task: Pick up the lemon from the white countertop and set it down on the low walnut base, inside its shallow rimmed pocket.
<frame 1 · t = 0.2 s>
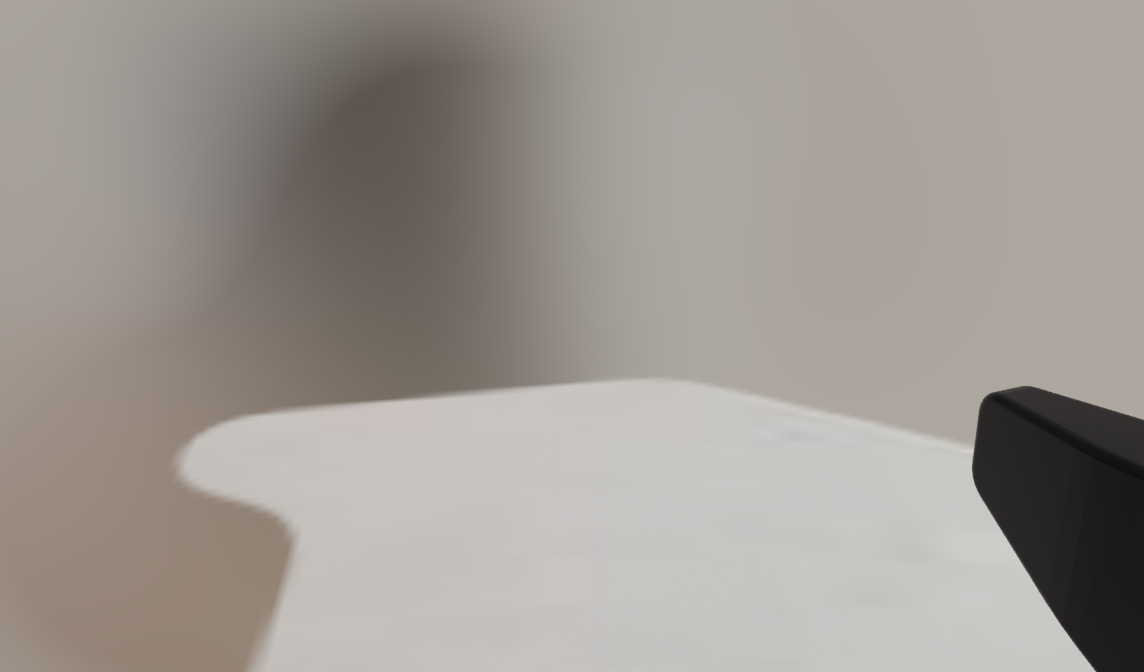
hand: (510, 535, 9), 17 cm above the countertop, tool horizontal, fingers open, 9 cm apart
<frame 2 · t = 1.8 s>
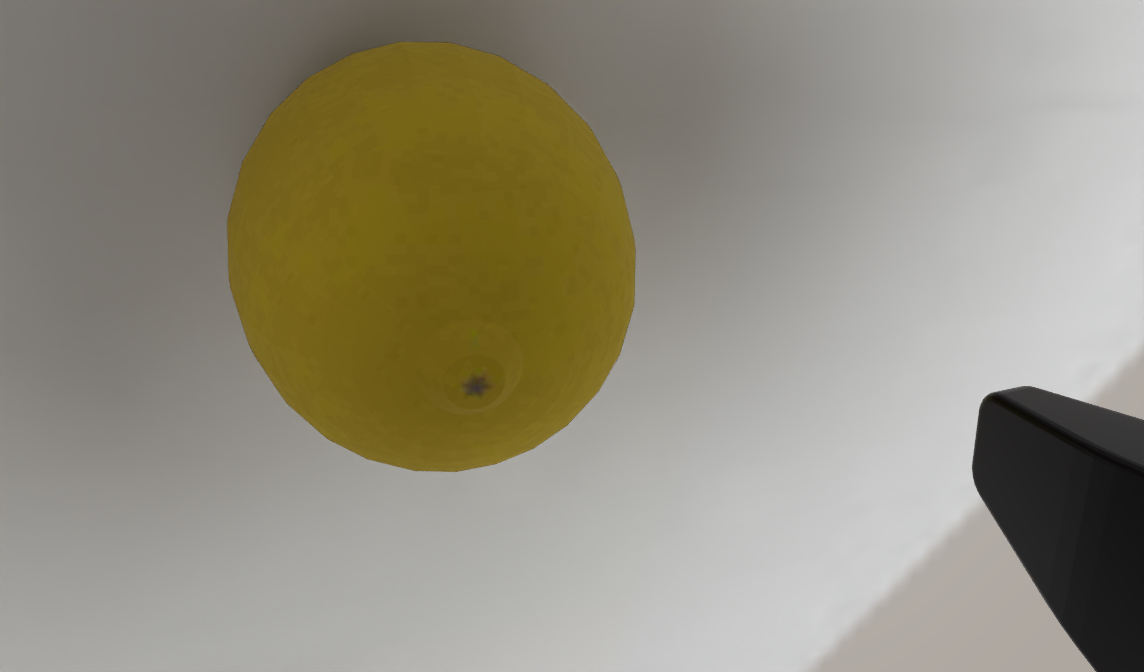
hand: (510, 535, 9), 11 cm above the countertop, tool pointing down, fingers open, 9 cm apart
lemon: (406, 160, 18), on the countertop
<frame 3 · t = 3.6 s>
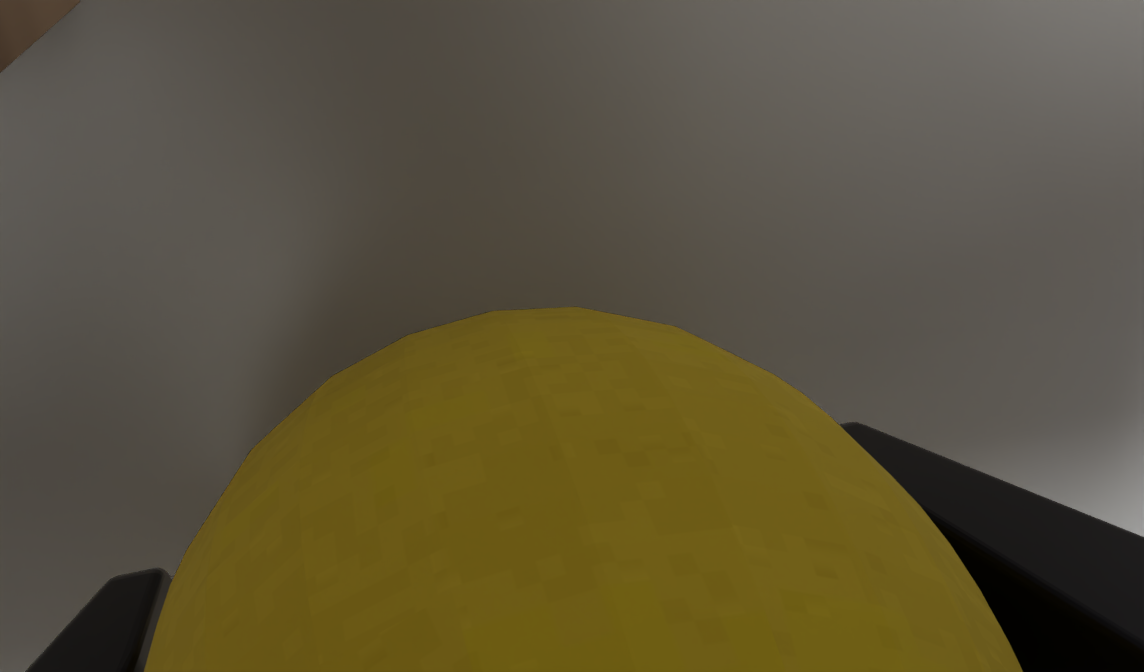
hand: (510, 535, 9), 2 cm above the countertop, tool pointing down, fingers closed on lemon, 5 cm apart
lemon: (479, 424, 10), on the countertop, touching gripper
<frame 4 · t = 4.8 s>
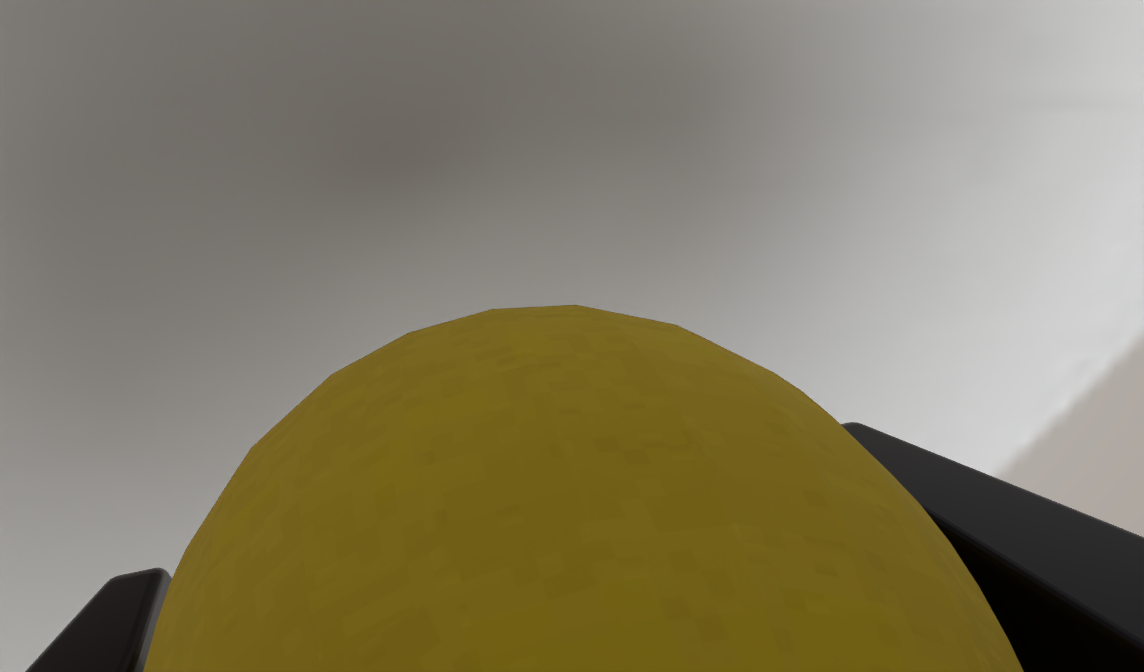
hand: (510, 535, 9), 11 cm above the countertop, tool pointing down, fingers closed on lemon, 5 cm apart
lemon: (479, 423, 10), point 9 cm above the countertop, touching gripper
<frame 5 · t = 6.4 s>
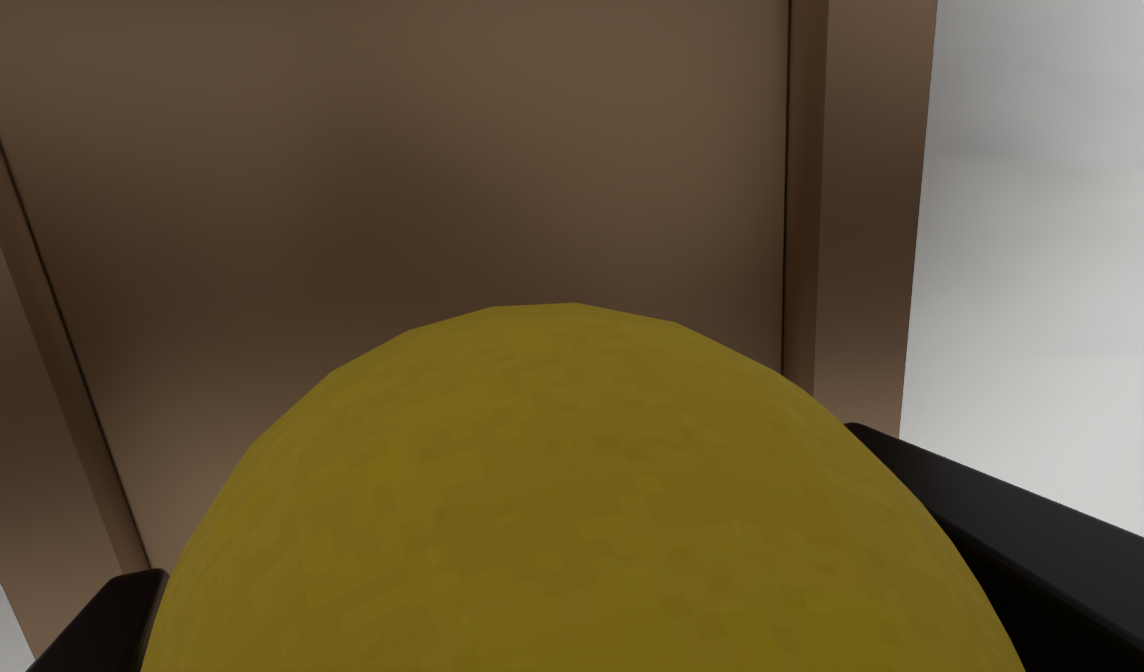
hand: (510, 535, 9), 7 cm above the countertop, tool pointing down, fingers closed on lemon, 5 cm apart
walnut base: (430, 237, 15), on the countertop
lemon: (479, 421, 10), point 5 cm above the countertop, touching gripper
when the fingers open (6 cm above the countertop, at t = 7.4 s): lemon drops 1 cm, resting on walnut base.
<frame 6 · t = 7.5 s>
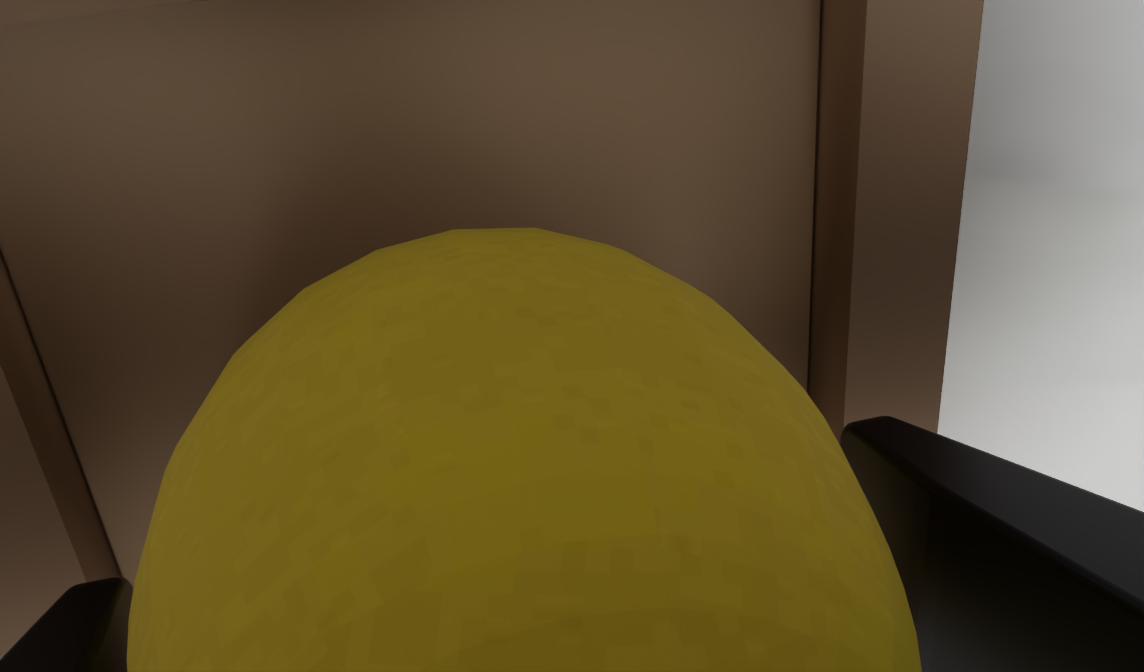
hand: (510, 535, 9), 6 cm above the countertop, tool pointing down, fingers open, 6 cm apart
walnut base: (435, 268, 14), on the countertop
lemon: (454, 353, 12), point 2 cm above the countertop, touching walnut base
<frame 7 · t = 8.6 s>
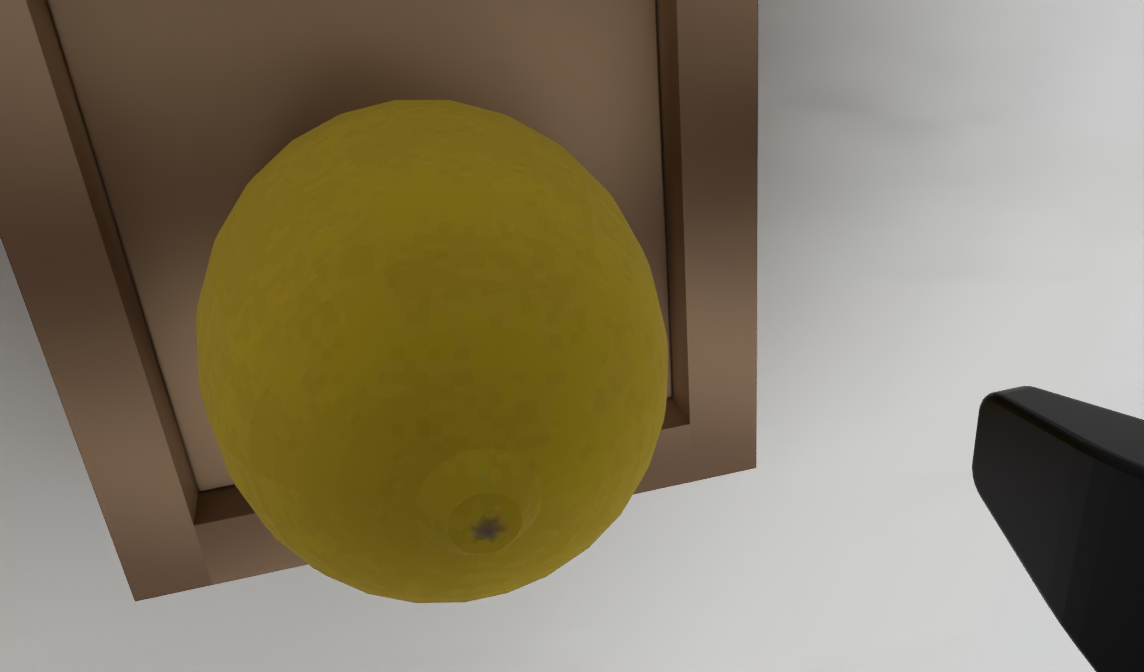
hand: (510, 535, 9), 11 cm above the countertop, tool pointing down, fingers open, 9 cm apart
walnut base: (394, 171, 18), on the countertop
lemon: (402, 218, 16), point 2 cm above the countertop, touching walnut base
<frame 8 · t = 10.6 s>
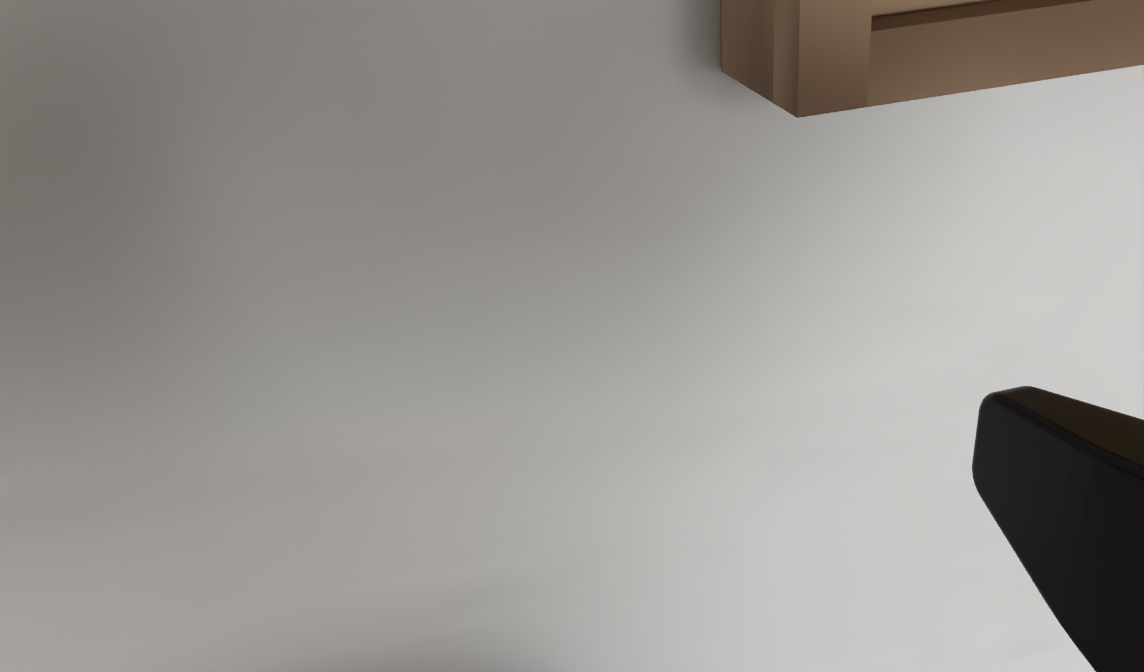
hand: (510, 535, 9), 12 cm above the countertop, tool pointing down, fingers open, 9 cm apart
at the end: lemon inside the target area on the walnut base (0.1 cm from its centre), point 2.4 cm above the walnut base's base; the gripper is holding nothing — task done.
